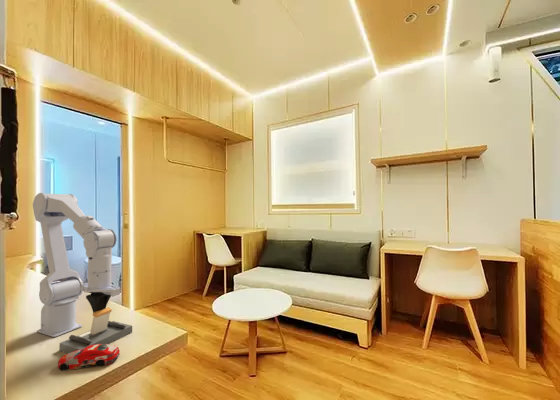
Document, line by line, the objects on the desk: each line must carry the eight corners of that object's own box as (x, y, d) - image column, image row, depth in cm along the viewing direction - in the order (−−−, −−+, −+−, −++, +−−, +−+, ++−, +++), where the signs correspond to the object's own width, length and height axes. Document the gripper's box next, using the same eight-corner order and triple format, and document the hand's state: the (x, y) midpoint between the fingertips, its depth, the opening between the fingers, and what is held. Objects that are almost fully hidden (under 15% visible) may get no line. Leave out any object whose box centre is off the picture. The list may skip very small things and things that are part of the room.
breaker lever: (87, 335, 75) (92, 313, 74) (104, 328, 79) (109, 307, 79) (91, 338, 74) (95, 315, 74) (108, 330, 79) (112, 309, 78)
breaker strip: (59, 350, 71) (59, 338, 71) (112, 327, 85) (113, 317, 85) (80, 357, 68) (80, 345, 68) (132, 332, 82) (132, 321, 82)
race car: (51, 373, 62) (51, 356, 62) (66, 360, 67) (66, 344, 67) (112, 367, 64) (112, 350, 64) (121, 354, 70) (121, 339, 70)
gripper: (69, 271, 76) (68, 319, 76) (102, 276, 71) (101, 327, 70) (94, 266, 83) (94, 310, 82) (126, 270, 77) (126, 317, 77)
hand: (99, 317), depth 77 cm, fingers closed, pressing on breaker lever
